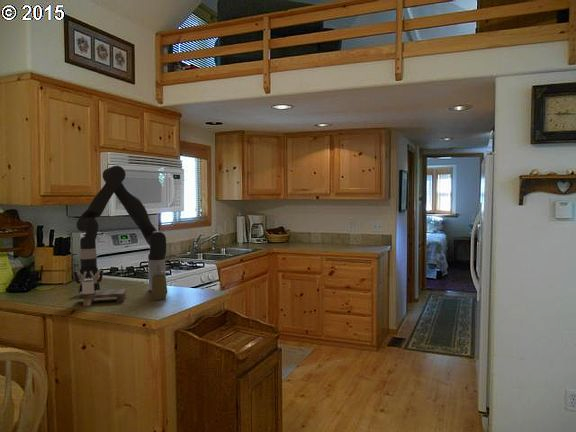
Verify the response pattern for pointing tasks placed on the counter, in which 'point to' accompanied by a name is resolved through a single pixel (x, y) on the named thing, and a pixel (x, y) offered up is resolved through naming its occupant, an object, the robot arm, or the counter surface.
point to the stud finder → (88, 286)
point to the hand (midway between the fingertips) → (89, 290)
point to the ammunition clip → (88, 278)
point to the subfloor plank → (102, 295)
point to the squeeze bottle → (159, 284)
